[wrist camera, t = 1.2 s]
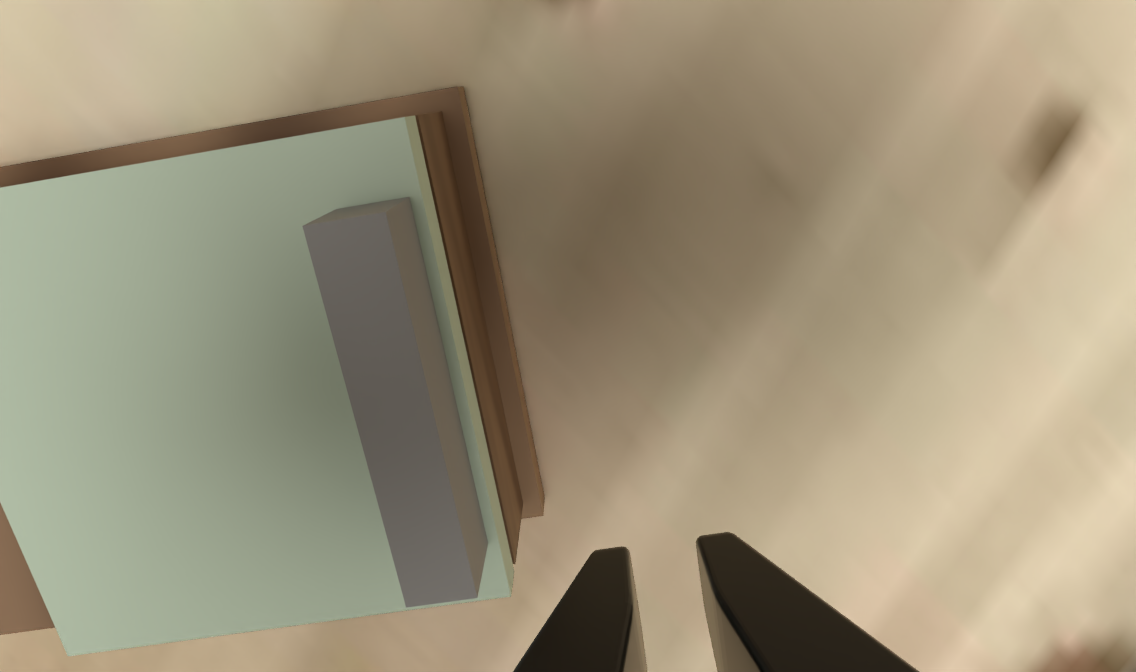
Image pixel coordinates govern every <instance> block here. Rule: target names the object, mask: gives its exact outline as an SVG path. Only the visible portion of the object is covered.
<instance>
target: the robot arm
mask: <svg viewBox="0 0 1136 672" xmlns="http://www.w3.org/2000/svg"><path fill="white" fill-rule="evenodd" d="M696 548H697V556H698V564H699V571H700V579H701V587H702V594H703V601H704V608H705V613H706V618H707V623H708V628H709V633H710V637H711V642H712V647H713V652H714V657H715V661H716V666H717V671H718V672H919V671H918V670H916V669H915V668H914V667H912V666H911V665H910V664H908V663H907V662H906V661H904V660H903V659H902V658H900V657H899V656H898V655H896V654H895V653H894V652H892V651H891V650H889V649H888V648H887V647H885V646H884V645H883V644H881V643H880V642H879V641H877V640H876V639H875V638H873V637H872V636H871V635H869V634H868V633H867V632H865V631H864V630H863V629H861V628H860V627H859V626H857V625H856V624H854V623H853V622H852V621H850V620H849V619H848V618H846V617H845V616H844V615H842V614H841V613H840V612H838V611H837V610H836V609H834V608H833V607H832V606H830V605H829V604H828V603H826V602H825V601H823V600H822V599H821V598H819V597H818V596H817V595H815V594H814V593H813V592H811V591H810V590H809V589H807V588H806V587H805V586H803V585H802V584H801V583H799V582H798V581H797V580H795V579H794V578H793V577H791V576H790V575H788V574H787V573H786V572H784V571H783V570H782V569H780V568H779V567H778V566H776V565H775V564H774V563H772V562H771V561H770V560H768V559H767V558H766V557H764V556H763V555H762V554H760V553H759V552H758V551H756V550H755V549H753V548H752V547H751V546H749V545H748V544H747V543H745V542H744V541H743V540H741V539H740V538H739V537H737V536H736V535H735V534H733V533H730V532H725V533H717V534H710V535H703V536H700V537H699V538H697V541H696ZM513 672H647V664H646V657H645V649H644V642H643V634H642V627H641V620H640V613H639V606H638V600H637V594H636V588H635V582H634V576H633V569H632V563H631V557H630V552H629V550H628V549H627V548H626V547H615V548H608V549H600V550H595V551H594V552H593V553H592V554H591V555H590V557H589V558H588V560H587V561H586V563H585V564H584V566H583V567H582V569H581V570H580V572H579V573H578V575H577V576H576V578H575V579H574V581H573V582H572V584H571V585H570V587H569V588H568V590H567V591H566V593H565V594H564V596H563V597H562V599H561V600H560V602H559V603H558V605H557V606H556V608H555V609H554V611H553V612H552V614H551V615H550V617H549V618H548V620H547V621H546V623H545V624H544V626H543V627H542V629H541V630H540V632H539V633H538V635H537V636H536V638H535V639H534V641H533V642H532V644H531V645H530V647H529V648H528V650H527V652H526V653H525V655H524V656H523V658H522V659H521V661H520V662H519V664H518V665H517V667H516V668H515V670H514V671H513Z"/></svg>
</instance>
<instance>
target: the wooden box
mask: <svg viewBox="0 0 1136 672" xmlns="http://www.w3.org/2000/svg"><path fill="white" fill-rule="evenodd" d="M414 115H415V118H416V122H417V127H418V132H419V136H420V141H421V145H422V150H423V154H424V159H425V164H426V168H427V173H428V177H429V182H430V187H431V191H432V196H433V200H434V205H435V210H436V214H437V219H438V223H439V228H440V232H441V237H442V242H443V246H444V251H445V255H446V260H447V265H448V269H449V274H450V278H451V283H452V288H453V292H454V297H455V301H456V306H457V310H458V315H459V320H460V324H461V329H462V333H463V338H464V343H465V347H466V352H467V356H468V361H469V365H470V370H471V375H472V379H473V384H474V388H475V393H476V398H477V402H478V407H479V411H480V416H481V421H482V425H483V430H484V434H485V439H486V443H487V448H488V453H489V457H490V462H491V466H492V471H493V476H494V480H495V485H496V489H497V494H498V499H499V503H500V508H501V512H502V517H503V521H504V526H505V531H506V535H507V540H508V544H509V549H510V554H511V558H512V563H513V564H515V562H516V554H517V547H518V539H519V531H520V523H521V519H523V518H530V517H537V516H543V512H544V499H545V498H544V493H543V488H542V482H541V477H540V472H539V467H538V462H537V457H536V452H535V447H534V442H533V437H532V432H531V427H530V422H529V417H528V412H527V406H526V401H525V396H524V391H523V386H522V381H521V376H520V371H519V366H518V361H517V356H516V351H515V346H514V341H513V336H512V331H511V325H510V320H509V315H508V310H507V305H506V300H505V295H504V290H503V285H502V280H501V275H500V270H499V265H498V260H497V255H496V250H495V244H494V239H493V234H492V229H491V224H490V219H489V214H488V209H487V204H486V199H485V194H484V189H483V184H482V179H481V174H480V169H479V163H478V158H477V153H476V148H475V143H474V138H473V133H472V128H471V123H470V118H469V113H468V108H467V103H466V98H465V93H464V88H463V87H452V88H446V89H441V90H435V91H429V92H424V93H418V94H412V95H407V96H401V97H395V98H390V99H384V100H378V101H373V102H367V103H361V104H356V105H350V106H344V107H339V108H333V109H327V110H322V111H316V112H310V113H305V114H299V115H293V116H288V117H282V118H276V119H271V120H265V121H259V122H254V123H248V124H242V125H237V126H231V127H225V128H220V129H214V130H208V131H203V132H197V133H191V134H186V135H180V136H174V137H169V138H163V139H157V140H152V141H146V142H140V143H135V144H129V145H123V146H118V147H112V148H106V149H101V150H95V151H89V152H84V153H78V154H72V155H67V156H61V157H55V158H50V159H44V160H38V161H33V162H27V163H21V164H16V165H10V166H4V167H0V188H1V187H7V186H13V185H19V184H24V183H30V182H36V181H41V180H47V179H53V178H59V177H64V176H70V175H76V174H81V173H87V172H93V171H99V170H104V169H110V168H116V167H122V166H127V165H133V164H139V163H144V162H150V161H156V160H162V159H167V158H173V157H179V156H184V155H190V154H196V153H202V152H207V151H213V150H219V149H225V148H230V147H236V146H242V145H247V144H253V143H259V142H265V141H270V140H276V139H282V138H287V137H293V136H299V135H305V134H310V133H316V132H322V131H327V130H333V129H339V128H345V127H350V126H356V125H362V124H368V123H373V122H379V121H385V120H390V119H396V118H402V117H408V116H414ZM54 627H55V626H54V623H53V621H52V619H51V616H50V614H49V612H48V610H47V607H46V605H45V603H44V601H43V598H42V596H41V594H40V591H39V589H38V587H37V585H36V582H35V580H34V578H33V576H32V573H31V571H30V569H29V566H28V564H27V562H26V560H25V557H24V555H23V553H22V551H21V548H20V546H19V544H18V541H17V539H16V537H15V535H14V532H13V530H12V528H11V526H10V523H9V521H8V519H7V516H6V514H5V512H4V510H3V507H2V505H1V503H0V635H3V634H11V633H18V632H25V631H32V630H40V629H47V628H54Z"/></svg>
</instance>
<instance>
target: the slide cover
mask: <svg viewBox="0 0 1136 672" xmlns="http://www.w3.org/2000/svg"><path fill="white" fill-rule="evenodd" d="M0 503H1V505H2V507H3V510H4V512H5V514H6V516H7V519H8V521H9V523H10V526H11V528H12V530H13V532H14V535H15V537H16V539H17V541H18V544H19V546H20V548H21V551H22V553H23V555H24V557H25V560H26V562H27V564H28V566H29V569H30V571H31V573H32V576H33V578H34V580H35V582H36V585H37V587H38V589H39V591H40V594H41V596H42V598H43V601H44V603H45V605H46V607H47V610H48V612H49V614H50V616H51V619H52V621H53V623H54V626H55V628H56V630H57V632H58V635H59V637H60V639H61V641H62V644H63V646H64V648H65V651H66V653H67V655H68V656H74V655H82V654H89V653H96V652H104V651H111V650H119V649H126V648H134V647H141V646H148V645H156V644H163V643H171V642H178V641H185V640H193V639H200V638H208V637H215V636H222V635H230V634H237V633H245V632H252V631H259V630H267V629H274V628H282V627H289V626H296V625H304V624H311V623H319V622H326V621H333V620H341V619H348V618H356V617H363V616H370V615H378V614H385V613H393V612H400V611H407V610H415V609H422V608H430V607H437V606H444V605H452V604H459V603H467V602H474V601H481V600H489V599H496V598H504V597H511V593H512V585H513V578H514V567H513V563H512V558H511V554H510V549H509V544H508V540H507V535H506V531H505V526H504V521H503V517H502V512H501V508H500V503H499V499H498V494H497V489H496V485H495V480H494V476H493V471H492V466H491V462H490V457H489V453H488V448H487V443H486V439H485V434H484V430H483V425H482V421H481V416H480V411H479V407H478V402H477V398H476V393H475V388H474V384H473V379H472V375H471V370H470V365H469V361H468V356H467V352H466V347H465V343H464V338H463V333H462V329H461V324H460V320H459V315H458V310H457V306H456V301H455V297H454V292H453V288H452V283H451V278H450V274H449V269H448V265H447V260H446V255H445V251H444V246H443V242H442V237H441V232H440V228H439V223H438V219H437V214H436V210H435V205H434V200H433V196H432V191H431V187H430V182H429V177H428V173H427V168H426V164H425V159H424V154H423V150H422V145H421V141H420V136H419V132H418V127H417V122H416V118H415V115H414V116H408V117H402V118H396V119H390V120H385V121H379V122H373V123H368V124H362V125H356V126H350V127H345V128H339V129H333V130H327V131H322V132H316V133H310V134H305V135H299V136H293V137H287V138H282V139H276V140H270V141H265V142H259V143H253V144H247V145H242V146H236V147H230V148H225V149H219V150H213V151H207V152H202V153H196V154H190V155H184V156H179V157H173V158H167V159H162V160H156V161H150V162H144V163H139V164H133V165H127V166H122V167H116V168H110V169H104V170H99V171H93V172H87V173H81V174H76V175H70V176H64V177H59V178H53V179H47V180H41V181H36V182H30V183H24V184H19V185H13V186H7V187H1V188H0Z"/></svg>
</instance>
